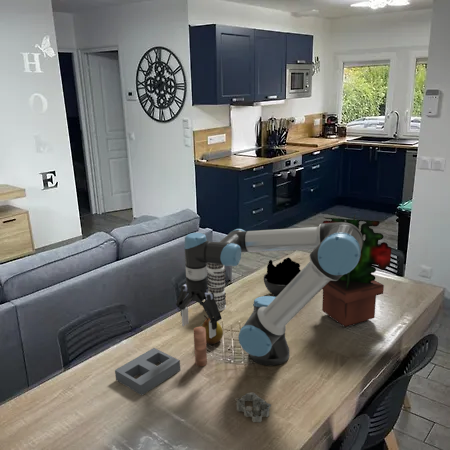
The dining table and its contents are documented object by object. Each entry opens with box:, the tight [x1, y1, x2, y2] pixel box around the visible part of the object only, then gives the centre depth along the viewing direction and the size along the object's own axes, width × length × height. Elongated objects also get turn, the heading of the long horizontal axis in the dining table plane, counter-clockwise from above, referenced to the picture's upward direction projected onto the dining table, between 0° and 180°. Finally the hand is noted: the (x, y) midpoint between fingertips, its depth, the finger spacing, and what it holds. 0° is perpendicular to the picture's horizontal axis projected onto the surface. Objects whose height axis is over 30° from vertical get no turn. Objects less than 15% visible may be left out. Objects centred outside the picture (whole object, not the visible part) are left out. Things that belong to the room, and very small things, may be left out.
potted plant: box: [317, 214, 392, 328], centre depth 193 cm, size 22×22×45 cm
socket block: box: [114, 347, 181, 396], centre depth 163 cm, size 14×18×4 cm
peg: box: [193, 326, 208, 367], centre depth 168 cm, size 4×4×14 cm
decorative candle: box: [207, 263, 227, 312], centre depth 209 cm, size 9×9×25 cm
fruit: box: [201, 315, 224, 346], centre depth 183 cm, size 9×9×12 cm
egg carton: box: [233, 392, 272, 423], centre depth 143 cm, size 11×8×4 cm
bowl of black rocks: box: [263, 257, 302, 297], centre depth 219 cm, size 20×20×19 cm
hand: (198, 330), depth 166 cm, fingers open, 13 cm apart
